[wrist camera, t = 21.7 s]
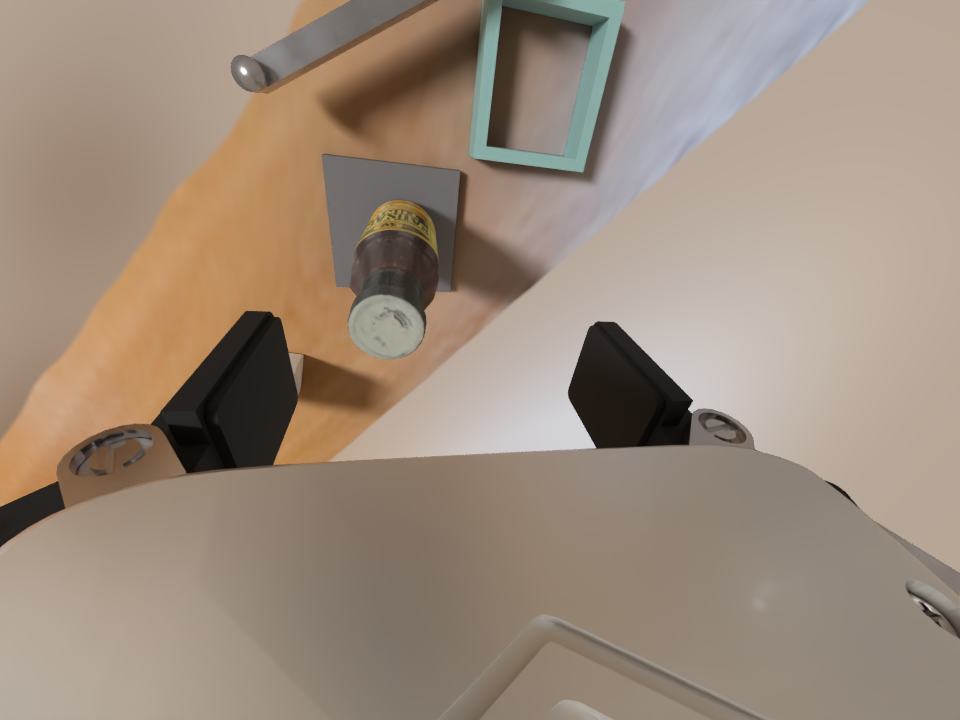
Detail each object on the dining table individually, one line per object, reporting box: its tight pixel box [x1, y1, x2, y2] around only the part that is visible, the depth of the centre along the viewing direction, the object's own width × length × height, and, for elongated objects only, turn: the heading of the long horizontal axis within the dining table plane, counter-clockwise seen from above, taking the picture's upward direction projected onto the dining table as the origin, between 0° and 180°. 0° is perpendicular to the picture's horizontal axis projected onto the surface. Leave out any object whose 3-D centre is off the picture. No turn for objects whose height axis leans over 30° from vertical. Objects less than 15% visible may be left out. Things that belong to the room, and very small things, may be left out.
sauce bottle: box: [348, 199, 439, 360], centre depth 26 cm, size 6×6×20 cm
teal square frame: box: [469, 0, 626, 172], centre depth 28 cm, size 12×14×4 cm
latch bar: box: [231, 0, 438, 94], centre depth 22 cm, size 4×21×3 cm, turn 112°
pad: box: [322, 154, 460, 292], centre depth 35 cm, size 12×12×1 cm
